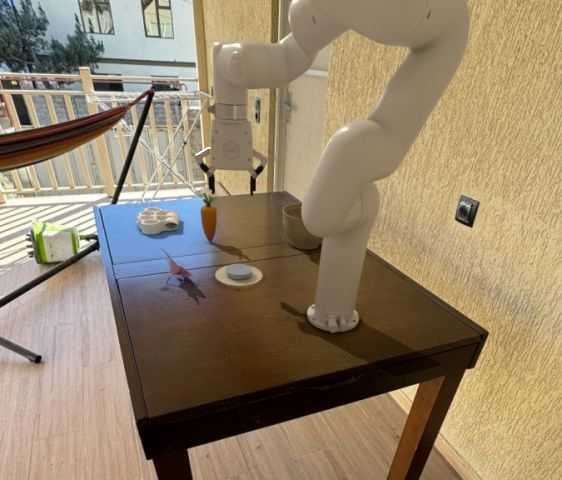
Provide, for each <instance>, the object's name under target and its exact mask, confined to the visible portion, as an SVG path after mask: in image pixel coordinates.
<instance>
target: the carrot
mask: <svg viewBox="0 0 562 480" xmlns="http://www.w3.org/2000/svg"><path fill="white" fill-rule="evenodd" d="M202 195H203V197H204V198H202V201H203V203H204V204H205V205H202V207H201V208H200V218H201V225H202V229H203V233H204V235H205V237H206V239H207V241H208V242H209V243H212V242H213V241H214V238H215V235H216V230H217V222H218V221H217V217H218V216H217V214H218V213H217V212H218V211H217V208H216V206H214V205H212V201H213V200H214V197H213V196H212V194H208V195H207V193H206V192H203V193H202Z"/></svg>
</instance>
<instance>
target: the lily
mask: <svg viewBox="0 0 562 480" xmlns="http://www.w3.org/2000/svg"><path fill="white" fill-rule="evenodd" d="M159 249H160V250H161V251H163V253H164V254H165V255H166V256H167V258H165V260H166V261H167V262H169V270H170V274H169V276H168V278H167V280H166V283H165V285H168V283H169V281H170V279H171V277H172V276H182V277H184V278H186V279H188V280H189V281H190V282H192V283H194V281H193V280H192V279H191V278H190V277H193V275H192V273H191V272H190V271H189V270H187V269H186V268H185V267H184V263H181V261H180V262H179V264H178V263H176V261H175V260H174V259H172V258H171V256H170V254H169V253H168V252H167V251H166V250H164V248H162V247H160V246H159Z"/></svg>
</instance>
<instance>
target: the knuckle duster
mask: <svg viewBox="0 0 562 480" xmlns="http://www.w3.org/2000/svg"><path fill="white" fill-rule="evenodd" d="M179 218H180V214H179V213H178V212H177V211H175V210H169V209H162V208H160V207H157V206H149V207H145V208H144V209H143V210H142V211H140V212H139V213H138V216H136V217H135V219H137V221H135V222H134V223H133V225H136V226H138V227H139V229H140V230H141V233H142V234H144V235H150V236H152V235H154V236H155V235H158V234H160V233H162V232H172V231H175V230H177V229H178V228H179V223H180V219H179Z"/></svg>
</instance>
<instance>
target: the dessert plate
mask: <svg viewBox="0 0 562 480" xmlns="http://www.w3.org/2000/svg"><path fill="white" fill-rule="evenodd" d="M227 266H228V265H225V266H222V267H220V268H219V269H217V270H216V272H215V273H214V276H215V279H216V280H217V281H219V282H220V283H222V284H225V285H228V286H235V287H238V286H239V287H244V286H250V285H254V284H256V283H259V282H260V281H261V280H262V279H263V272H262V271H261V270H259V269H258V268H257V267H254V266H251V265H249V266H250V267H251V268H252V275H251V276H250V277H248V278H245V279H234V278H230V277H228V276H227V275H226V267H227Z"/></svg>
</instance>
